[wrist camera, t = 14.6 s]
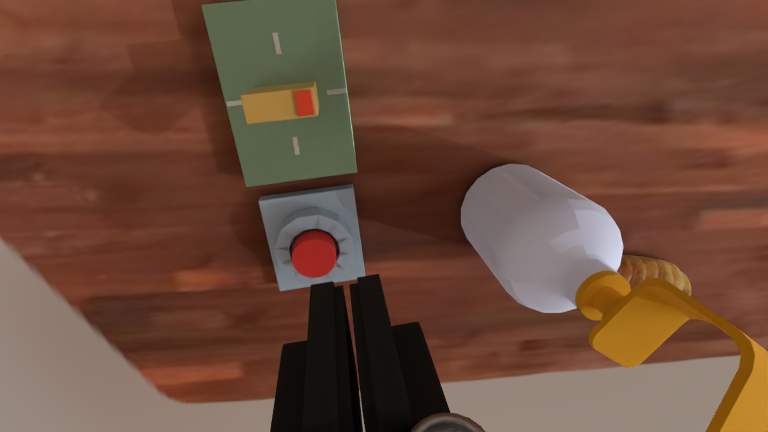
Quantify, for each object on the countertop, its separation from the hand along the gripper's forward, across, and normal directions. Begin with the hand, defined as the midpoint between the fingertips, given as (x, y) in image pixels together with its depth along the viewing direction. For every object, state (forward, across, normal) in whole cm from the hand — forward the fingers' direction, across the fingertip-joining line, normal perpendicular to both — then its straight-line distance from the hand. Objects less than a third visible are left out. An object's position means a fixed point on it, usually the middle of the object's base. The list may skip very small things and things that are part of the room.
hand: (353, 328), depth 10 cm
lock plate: (+25, +3, -4) cm, 26 cm away
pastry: (+25, -30, +20) cm, 44 cm away
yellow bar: (+23, +3, -4) cm, 24 cm away
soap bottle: (+25, -15, +9) cm, 31 cm away
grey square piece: (+25, +3, +9) cm, 27 cm away
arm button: (+22, +3, +9) cm, 24 cm away
